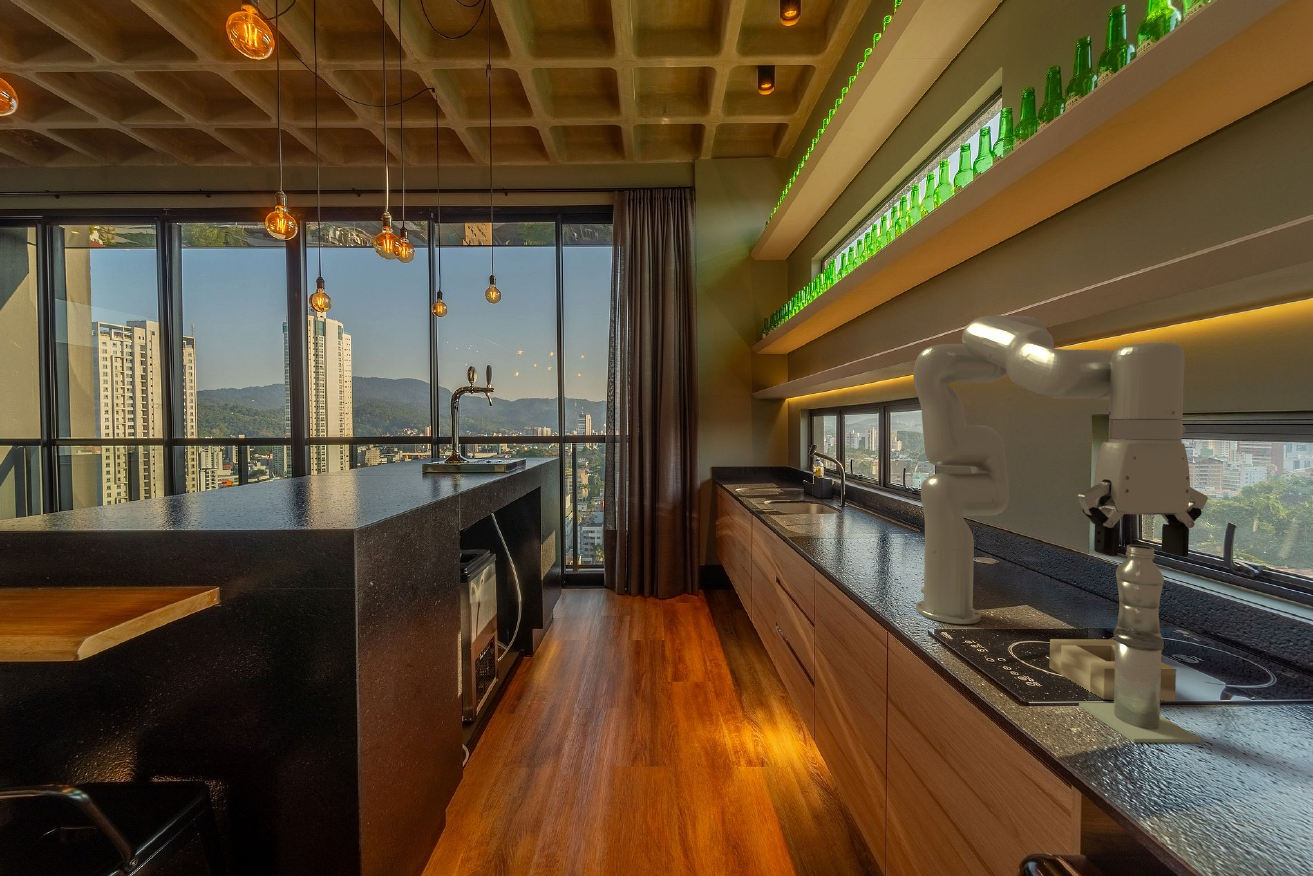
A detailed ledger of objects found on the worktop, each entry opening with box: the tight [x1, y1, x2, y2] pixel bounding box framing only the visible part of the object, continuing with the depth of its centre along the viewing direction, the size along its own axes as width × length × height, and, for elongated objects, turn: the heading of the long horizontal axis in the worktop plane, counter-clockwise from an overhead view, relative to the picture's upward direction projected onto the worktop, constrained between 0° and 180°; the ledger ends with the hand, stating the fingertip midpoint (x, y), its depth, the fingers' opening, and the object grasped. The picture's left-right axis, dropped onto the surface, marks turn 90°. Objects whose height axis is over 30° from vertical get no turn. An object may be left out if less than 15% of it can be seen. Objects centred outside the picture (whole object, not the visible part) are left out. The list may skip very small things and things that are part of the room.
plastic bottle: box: [1115, 544, 1165, 639], centre depth 96 cm, size 6×7×20 cm
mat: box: [1078, 702, 1202, 744], centre depth 74 cm, size 9×9×1 cm
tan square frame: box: [1048, 638, 1177, 702], centre depth 85 cm, size 11×11×5 cm
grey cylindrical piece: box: [1113, 628, 1165, 729], centre depth 74 cm, size 5×5×12 cm
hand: (1140, 554), depth 74 cm, fingers open, 9 cm apart
